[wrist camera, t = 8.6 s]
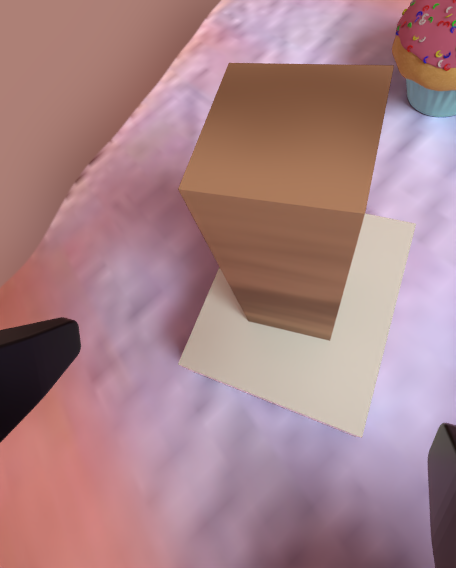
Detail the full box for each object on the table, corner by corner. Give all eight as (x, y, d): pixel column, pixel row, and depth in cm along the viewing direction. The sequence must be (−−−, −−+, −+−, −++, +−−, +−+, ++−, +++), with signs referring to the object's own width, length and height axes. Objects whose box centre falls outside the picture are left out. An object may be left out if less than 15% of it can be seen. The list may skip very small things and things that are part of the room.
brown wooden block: (330, 340, 18) (364, 213, 8) (248, 321, 20) (178, 189, 9) (345, 264, 20) (394, 65, 9) (268, 251, 21) (229, 63, 10)
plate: (355, 436, 19) (361, 437, 16) (191, 370, 22) (177, 364, 20) (404, 244, 22) (415, 223, 20) (256, 211, 25) (252, 190, 23)
